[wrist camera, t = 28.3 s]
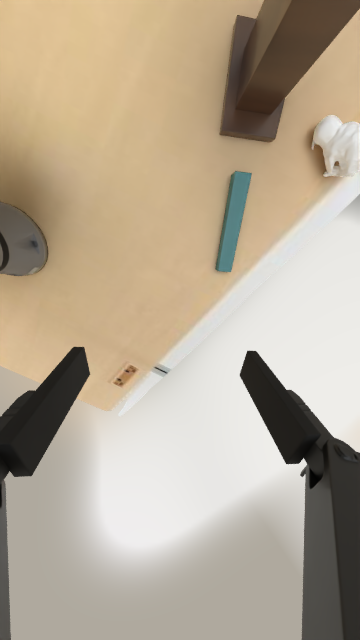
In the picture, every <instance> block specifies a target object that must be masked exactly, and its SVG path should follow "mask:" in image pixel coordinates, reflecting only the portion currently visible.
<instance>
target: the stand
mask: <svg viewBox="0 0 360 640" xmlns="http://www.w3.org/2000/svg"><path fill="white" fill-rule="evenodd" d="M359 9H360V0H264V2H263V4H262V7H261V9H260V12H259V14H258V17H257V19H253V18H249V17H244V16H240V15H237V17H236V21H235V24H234V29H233V36H232V44H231V51H230V59H229V67H228V74H227V82H226V89H225V97H224V105H223V112H222V120H221V127H220V135H226V136H233V137H240V138H246V139H253V140H260V141H266V142H272V141H273V140H274V139H275V137H276V133H277V129H278V125H279V121H280V117H281V113H282V108H283V104H284V100H285V97H286V96H287V95H288V94H289V92H290V91H291V90H292V89H293V88H294V86H295V85H296V84H297V83H298V82H299V80H300V79H301V78H302V77H303V76H304V74H305V73H306V72H307V71H308V70H309V68H310V67H311V66H312V65H313V64H314V62H315V61H316V60H317V59H318V58H319V57H320V55H321V54H322V53H323V52H324V51H325V49H326V48H327V47H328V46H329V45H330V43H331V42H332V41H333V40H334V39H335V37H336V36H337V35H338V34H339V33H340V31H341V30H342V29H343V28H344V27H345V25H346V24H347V23H348V22H349V21H350V19H351V18H352V17H353V16H354V15H355V13H356V12H357V11H358V10H359Z"/></svg>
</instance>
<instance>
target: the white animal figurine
mask: <svg viewBox="0 0 360 640" xmlns="http://www.w3.org/2000/svg"><path fill="white" fill-rule="evenodd" d="M314 143H315V144H318V145H320V146H321V148H322V149H323V155H324V158H325V165H326V170H327V171H325V172H324V174H323V176H324V177H328V176H342V177H347V176H353V175H354V174H355V173H356V172H358V171H360V123H357V122H353V121H351V122H348V123H344V124H342V122H341V120H340V119H339V118H338V117H337V116H335V115H329V116H326V117H325V118H324V119H322V120H321V121H320V122H319V123H318V124H317V126H316V128H315V130H314V136H313V142H312V146H313V147H314V145H315V144H314ZM311 150H312V148H311ZM336 161H339V165H338V166H334V164H335V162H336Z"/></svg>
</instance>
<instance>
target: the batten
mask: <svg viewBox="0 0 360 640" xmlns="http://www.w3.org/2000/svg"><path fill="white" fill-rule="evenodd" d="M251 174H252V173H245V172H238V171H235V172H234V173H233V174H232V175H231V181H230V187H229V193H228V199H227V204H226V210H225V216H224V222H223V228H222V234H221V240H220V246H219V252H218V258H217V264H216V270H217V271H223V272H231V269H232V265H233V260H234V255H235V250H236V246H237V241H238V236H239V231H240V227H241V222H242V217H243V212H244V208H245V203H246V198H247V193H248V189H249V184H250V179H251Z"/></svg>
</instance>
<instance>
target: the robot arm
mask: <svg viewBox="0 0 360 640" xmlns="http://www.w3.org/2000/svg"><path fill="white" fill-rule="evenodd" d="M47 257H48V249H47V244H46V240H45V238H44V236H43V234H42V232H41V230H40V229H39V227H38V226H37V225H36V223H35V222H34V221H33V220H32V219H31V218H30V217H29V216H28V215H26V214H25V213H24V212H22V211H21V210H19V209H18V208H16V207H14V206H12V205H9V204H6V203H2V202H0V274H7V275H14V276H23V275H29V274H33V273H36V272H38V271H39V270H41V269H42V268H43V266H44V265H45V263H46V261H47ZM89 375H90V372H89V367H88V363H87V358H86V353H85V349H84V347H73V348H72V349H71V350H70V352H69V353H68V354H67V355H66V356H65V357H64V359H63V360H62V361H61V362H60V363H59V364H58V365H57V367H56V368H55V369H54V370H53V371H52V372H51V374H50V375H49V376H48V377H47V378H46V379H45V380H44V382H43V383H42V384H41V385H40V386H39V387H38V389H37V390H36V391H27V392H26V393H24V394H23V395H22V396H20V397H19V398H18V399H17V400H16V401H15V402H14V403H13V404H12V405H11V406H10V407H9V409H7V410H6V411H5V412H4V413H3V415H2V416H1V417H0V640H11V634H10V605H9V578H8V577H9V576H8V547H7V517H6V488H5V482H4V478H5V477H6V476H7V474H8V473H9V471H10V472H11V473H12V474H13V476H14V477H19V476H32V475H33V473H34V471H35V469H36V468H37V466H38V464H39V462H40V460H41V459H42V457H43V455H44V454H45V452H46V450H47V448H48V446H49V445H50V443H51V441H52V440H53V438H54V436H55V434H56V433H57V431H58V429H59V427H60V425H61V424H62V422H63V420H64V419H65V417H66V415H67V413H68V411H69V410H70V407H71V406H72V405H73V403H74V401H75V399H76V398H77V396H78V394H79V392H80V391H81V389H82V387H83V385H84V384H85V382H86V380H87V378H88V377H89ZM240 377H241V379H242V380H243V383H244V384H245V386H246V388H247V390H248V392H249V394H250V396H251V398H252V400H253V402H254V404H255V405H256V407H257V409H258V411H259V413H260V415H261V417H262V419H263V421H264V423H265V424H266V426H267V428H268V430H269V432H270V434H271V436H272V438H273V439H274V442H275V444H276V445H277V447H278V449H279V451H280V453H281V455H282V457H283V459H284V461H285V462H286V464H299V463H300V462H301V460H302V459H303V458H304V459H305V461H306V462H307V466H306V467H305V468H304V469H303V470H302V472H301V474H300V475H301V476H302V477H303V476H304V474H306V483H305V528H304V569H303V613H302V640H360V453H358V452H356V451H355V450H353V449H352V448H351V447H350V446H349V445H348V444H346V443H345V442H343V441H341V440H339V439H336V438H334V437H333V436H332V435H331V434H330V433H329V432H328V430H327V429H326V428H325V427H324V425H323V424H322V423H321V422H320V421H319V419H318V418H317V417H316V416H315V415H314V414H313V412H311V410H310V409H309V407H308V406H307V405H305V403H304V402H303V400H302V399H301V398H300V397H299V396H298V395H297V394H296V393H294V392H293V391H292V390H286V389H285V387H284V386H283V385H282V384H281V382H280V381H279V380H278V378H276V376H275V375H274V373H273V372H272V371H271V370H270V368H269V367H268V366H267V364H266V363H265V362H264V361H263V359H262V358H261V357H260V356H259V354H258V353H257V352H256V351H247V354H246V357H245V360H244V363H243V366H242V369H241V373H240Z"/></svg>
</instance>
